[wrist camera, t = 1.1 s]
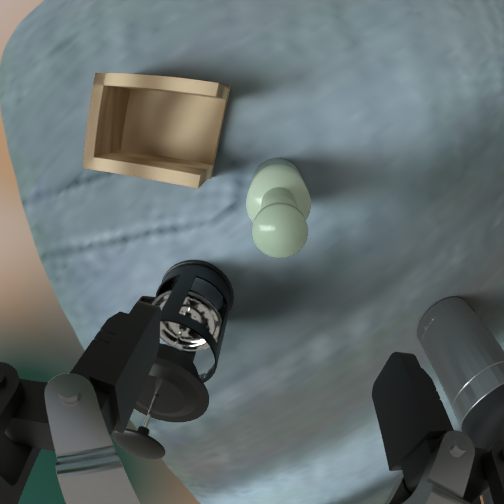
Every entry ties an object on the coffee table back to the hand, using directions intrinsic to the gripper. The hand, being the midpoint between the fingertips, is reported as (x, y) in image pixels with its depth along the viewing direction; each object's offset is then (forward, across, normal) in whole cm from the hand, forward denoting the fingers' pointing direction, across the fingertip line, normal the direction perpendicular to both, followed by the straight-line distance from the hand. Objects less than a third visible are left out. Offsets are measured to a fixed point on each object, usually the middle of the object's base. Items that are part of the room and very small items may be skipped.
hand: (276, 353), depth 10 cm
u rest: (+26, +13, -4) cm, 29 cm away
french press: (+26, +7, +16) cm, 31 cm away
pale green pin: (+26, 0, 0) cm, 26 cm away
